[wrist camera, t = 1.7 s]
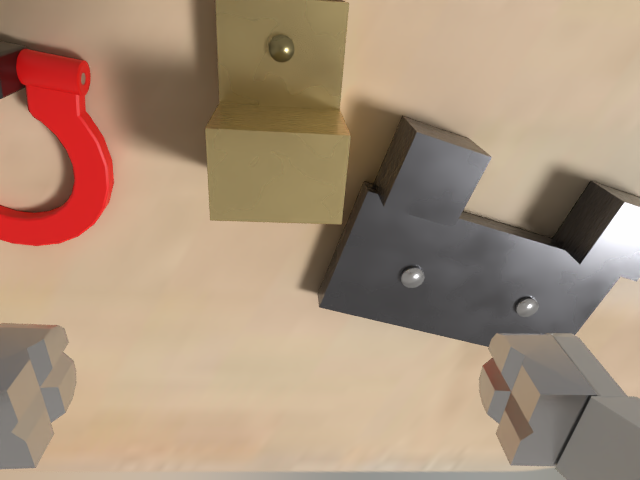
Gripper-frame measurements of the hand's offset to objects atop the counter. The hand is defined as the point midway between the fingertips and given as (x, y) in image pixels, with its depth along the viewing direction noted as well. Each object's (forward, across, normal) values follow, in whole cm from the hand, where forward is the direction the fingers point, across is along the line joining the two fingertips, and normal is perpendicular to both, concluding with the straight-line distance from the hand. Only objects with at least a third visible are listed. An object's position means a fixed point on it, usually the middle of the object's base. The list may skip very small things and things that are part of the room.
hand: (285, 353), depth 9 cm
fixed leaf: (+14, -10, +5) cm, 18 cm away
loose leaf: (+14, 0, -2) cm, 14 cm away
